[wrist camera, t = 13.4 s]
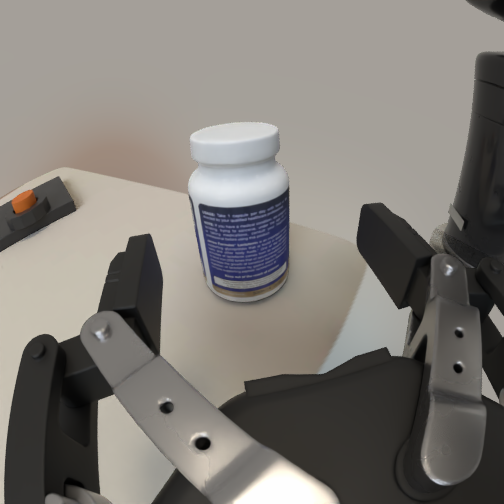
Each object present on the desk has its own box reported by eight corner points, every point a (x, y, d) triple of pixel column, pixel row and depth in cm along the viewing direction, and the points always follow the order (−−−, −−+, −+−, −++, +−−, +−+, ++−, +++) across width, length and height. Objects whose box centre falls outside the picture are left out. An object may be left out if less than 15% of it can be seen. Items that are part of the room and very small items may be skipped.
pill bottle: (305, 274, 20) (311, 127, 14) (242, 320, 18) (224, 153, 12) (249, 241, 24) (239, 114, 18) (189, 275, 21) (160, 136, 15)
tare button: (36, 198, 30) (32, 187, 29) (37, 205, 28) (33, 194, 27) (15, 209, 28) (11, 198, 27) (15, 217, 26) (10, 206, 25)
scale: (61, 183, 40) (56, 166, 38) (78, 213, 31) (70, 190, 29) (-1, 216, 34) (-7, 199, 32) (-5, 258, 25) (-16, 236, 23)
